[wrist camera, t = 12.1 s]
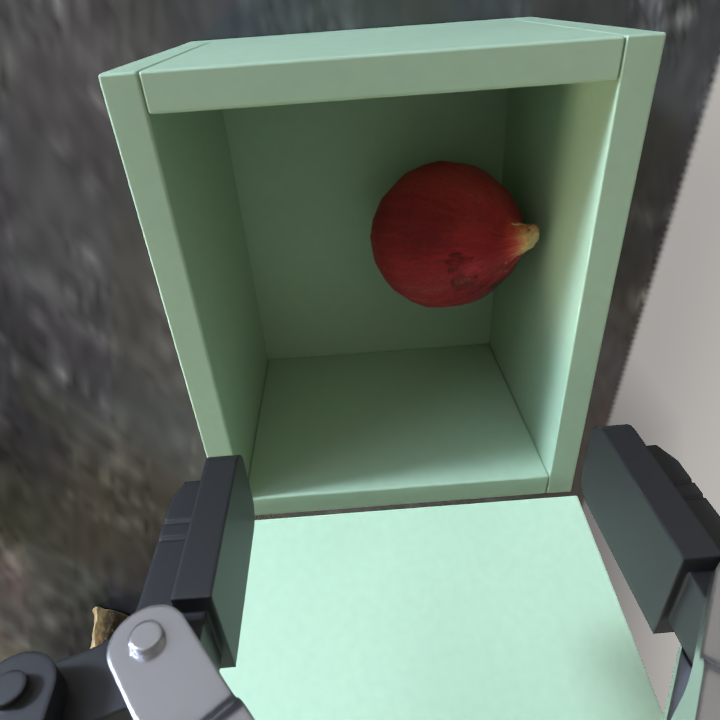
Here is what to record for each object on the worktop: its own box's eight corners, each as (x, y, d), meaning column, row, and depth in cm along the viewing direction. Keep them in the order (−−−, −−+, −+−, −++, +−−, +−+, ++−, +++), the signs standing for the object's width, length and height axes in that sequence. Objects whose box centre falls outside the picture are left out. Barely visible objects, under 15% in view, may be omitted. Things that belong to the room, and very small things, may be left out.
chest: (190, 41, 23) (95, 74, 14) (531, 16, 23) (667, 32, 14) (254, 366, 32) (223, 518, 22) (501, 347, 32) (571, 492, 22)
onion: (420, 290, 28) (566, 316, 22) (331, 299, 25) (477, 334, 19) (428, 168, 27) (587, 163, 21) (333, 159, 23) (494, 149, 17)
